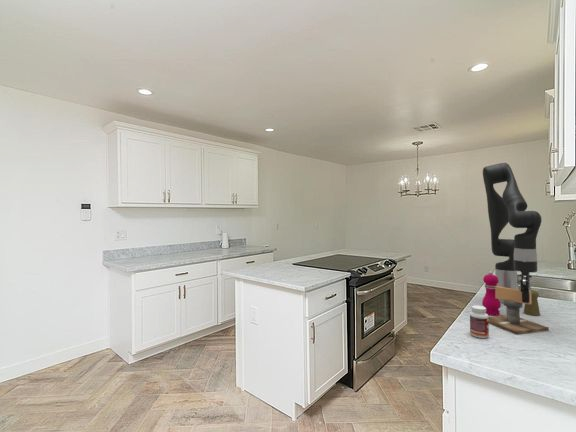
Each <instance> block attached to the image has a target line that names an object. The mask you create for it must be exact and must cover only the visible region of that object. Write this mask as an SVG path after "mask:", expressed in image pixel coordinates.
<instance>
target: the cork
mask: <svg viewBox="0 0 576 432" xmlns="http://www.w3.org/2000/svg"><path fill="white" fill-rule="evenodd" d="M530 291H531V304H530V305H529V304H524V308H523V314H524V315H528V316H532V317H533V316H534V317H540V316H541V311H540V307H539V300H538V298H539V297H540V295H539V294H540V293H539V292H538V291H537V290H534V289H530Z"/></svg>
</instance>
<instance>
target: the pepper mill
mask: <svg viewBox="0 0 576 432" xmlns="http://www.w3.org/2000/svg"><path fill="white" fill-rule="evenodd" d="M482 280H483V282H484V288H485V294H484V297H483V299H482V301H481V304H482V305H481V306H483V307H485V308H486V312H485V313H486V314H488V316H500V315H501V313H500V310H499V309H500V308H501V306H502V305H501V304H502V303H501V302H500V301H499V299H497V298H495V287H496V286H497V284H498V282H499V280H498V277H497V276H496V274H494V272H493V271H492V270H490V271H488V274H485V275H484V276H483V279H482Z"/></svg>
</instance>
